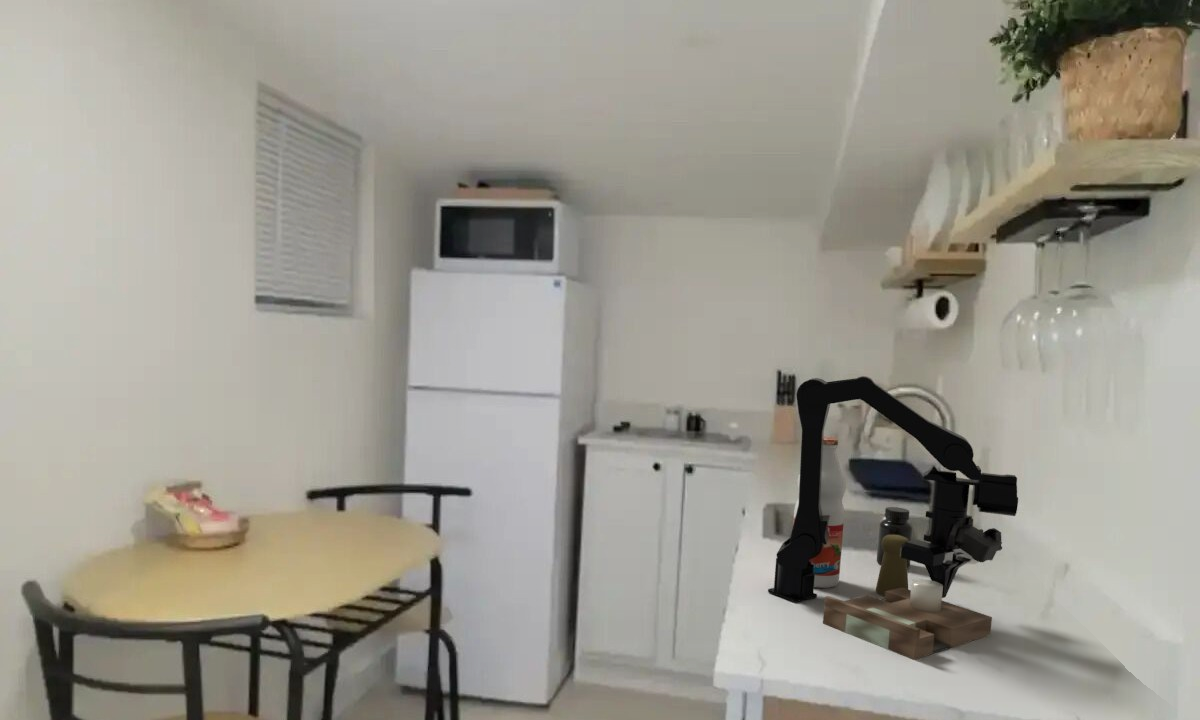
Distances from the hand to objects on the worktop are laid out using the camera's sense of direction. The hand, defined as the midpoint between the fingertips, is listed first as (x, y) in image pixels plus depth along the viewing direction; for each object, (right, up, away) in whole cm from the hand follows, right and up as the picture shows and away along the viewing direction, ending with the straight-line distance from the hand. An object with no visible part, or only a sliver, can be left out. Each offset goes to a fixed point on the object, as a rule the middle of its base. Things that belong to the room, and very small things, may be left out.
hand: (941, 597), depth 149 cm
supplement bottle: (+3, -3, +34) cm, 34 cm away
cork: (-4, -3, +14) cm, 14 cm away
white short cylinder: (-4, -1, -3) cm, 5 cm away
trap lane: (-8, -4, -6) cm, 11 cm away
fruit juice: (-18, -2, +18) cm, 25 cm away
